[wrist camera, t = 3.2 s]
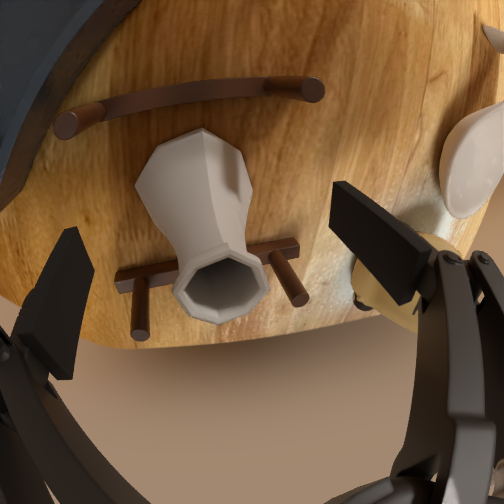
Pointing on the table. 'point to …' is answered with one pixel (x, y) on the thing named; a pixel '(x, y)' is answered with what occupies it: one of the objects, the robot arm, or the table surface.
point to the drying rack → (182, 93)
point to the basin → (43, 71)
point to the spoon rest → (474, 153)
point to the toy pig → (376, 296)
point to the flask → (205, 224)
